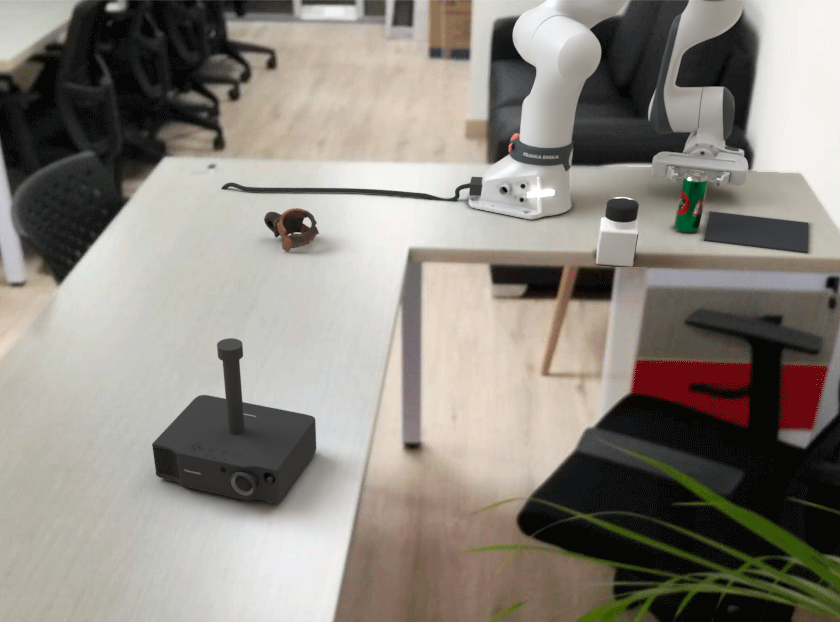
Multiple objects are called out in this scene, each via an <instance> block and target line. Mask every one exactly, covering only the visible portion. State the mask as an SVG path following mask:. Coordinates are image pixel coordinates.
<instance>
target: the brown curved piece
mask: <svg viewBox="0 0 840 622" xmlns="http://www.w3.org/2000/svg"><path fill="white" fill-rule="evenodd" d="M306 218H308V219H309V220H310V224H311V225H310V226H308V225H307V224H305V223H304V219H306ZM263 222H264V224H265V226H266V227H267V228H268V229H269V230H270V231H271V232H272V233H273V235H274V238H278V237H281V239H283V241H282V245H281V248H282V250H284V251H285V252H287V253H289V252H290V251H291V250H292V249H296V248H297V249H298V248H300V247H303V246H306V245H309V244H310V243H311V242H312V241H313V240H314V239H315V238H316V236H317V235H320V231H319V229H318V226H316V225H317V224H318V221H316V219H315V216H314V215H313V214H312V213H311V212H309V211H308V210H305V209H303V208H299V207H298V208H293V207H292V208H290V209H287V210H285V211H283V212H282V214H280V213H279V212H276V211H269V212H267V213H265V215H264V218H263ZM289 235H290V236H289ZM310 241H311V242H310Z"/></svg>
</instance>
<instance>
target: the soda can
mask: <svg viewBox="0 0 840 622" xmlns="http://www.w3.org/2000/svg"><path fill="white" fill-rule="evenodd" d="M707 175H708V173H707V172H705V171H703V170H697V169H692V170H688V171H686V174H685V175H684V176H683V179H681V181H682V182H681V187H680V193H679V196H678V197H679V198H678V201H677V207H676V214H675V219H674V228H675V230H676V231H678V232H681V233H685V234H691V233H692V234H693V233H696V232H697V231H698V230H699V229H700V226H701V220H702V216H703V211H704V206H705V201H706V196H707V191H708V184H709V182H708V181H709V178H708V176H707Z"/></svg>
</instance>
